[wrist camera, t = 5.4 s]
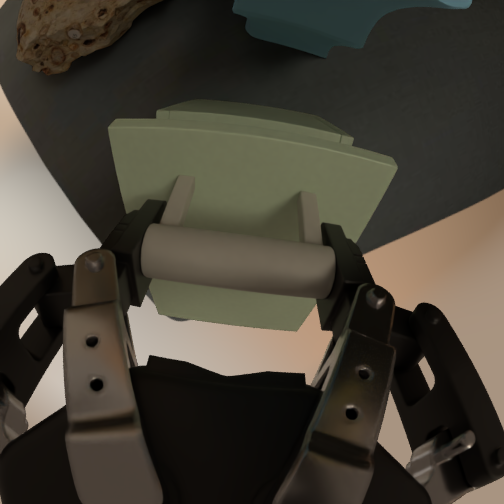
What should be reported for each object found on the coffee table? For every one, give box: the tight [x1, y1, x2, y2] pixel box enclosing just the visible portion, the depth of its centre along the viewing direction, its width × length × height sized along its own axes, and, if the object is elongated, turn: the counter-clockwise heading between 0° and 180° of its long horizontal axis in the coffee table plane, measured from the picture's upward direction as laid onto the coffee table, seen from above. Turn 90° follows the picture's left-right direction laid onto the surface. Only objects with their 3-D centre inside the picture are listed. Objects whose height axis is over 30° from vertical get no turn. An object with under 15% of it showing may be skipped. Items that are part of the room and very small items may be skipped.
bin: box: [156, 99, 354, 146], centre depth 23 cm, size 16×12×11 cm
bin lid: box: [108, 119, 398, 331], centre depth 15 cm, size 17×12×5 cm
